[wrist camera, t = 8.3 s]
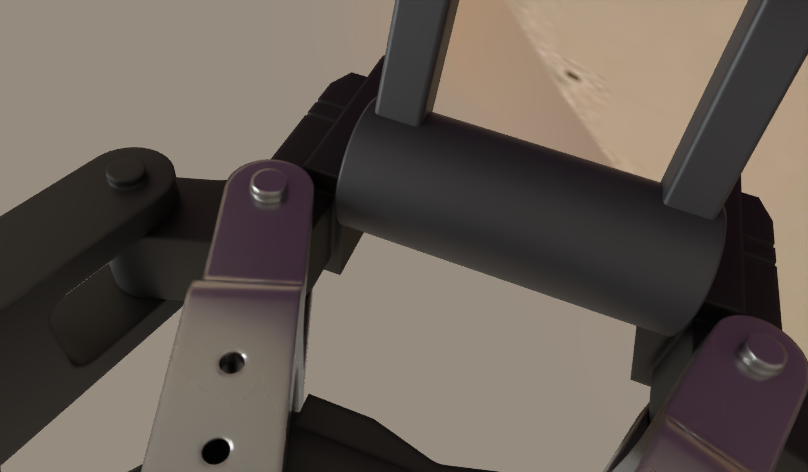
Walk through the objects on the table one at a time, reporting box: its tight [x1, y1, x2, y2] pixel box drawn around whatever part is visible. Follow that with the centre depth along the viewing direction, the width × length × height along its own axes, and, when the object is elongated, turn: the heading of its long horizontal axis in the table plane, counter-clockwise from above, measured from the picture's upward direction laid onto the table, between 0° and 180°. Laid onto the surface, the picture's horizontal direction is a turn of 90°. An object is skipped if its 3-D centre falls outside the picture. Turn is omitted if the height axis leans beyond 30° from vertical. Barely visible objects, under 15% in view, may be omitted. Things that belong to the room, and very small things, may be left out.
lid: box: [335, 0, 808, 336], centre depth 14 cm, size 18×15×6 cm
